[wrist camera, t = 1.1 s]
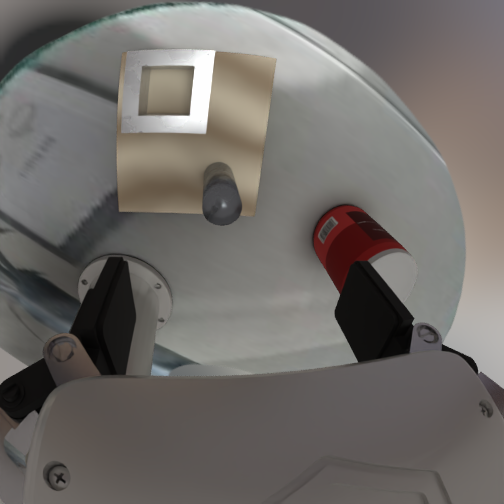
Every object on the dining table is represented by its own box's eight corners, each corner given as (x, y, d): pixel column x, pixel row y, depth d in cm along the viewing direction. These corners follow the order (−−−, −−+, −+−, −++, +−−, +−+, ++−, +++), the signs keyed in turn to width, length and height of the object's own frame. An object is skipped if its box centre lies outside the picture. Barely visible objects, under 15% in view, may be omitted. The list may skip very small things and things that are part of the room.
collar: (206, 129, 24) (205, 133, 21) (131, 128, 23) (121, 133, 20) (214, 56, 21) (215, 50, 18) (137, 56, 19) (127, 51, 16)
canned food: (312, 267, 35) (346, 330, 26) (308, 209, 31) (350, 263, 22) (366, 254, 36) (410, 308, 26) (369, 197, 31) (424, 244, 22)
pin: (231, 190, 28) (240, 226, 21) (202, 189, 27) (201, 224, 20) (234, 163, 26) (244, 189, 19) (204, 161, 26) (203, 187, 19)
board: (252, 211, 30) (254, 216, 29) (121, 207, 28) (119, 211, 27) (273, 60, 22) (276, 58, 21) (126, 54, 20) (122, 52, 19)
